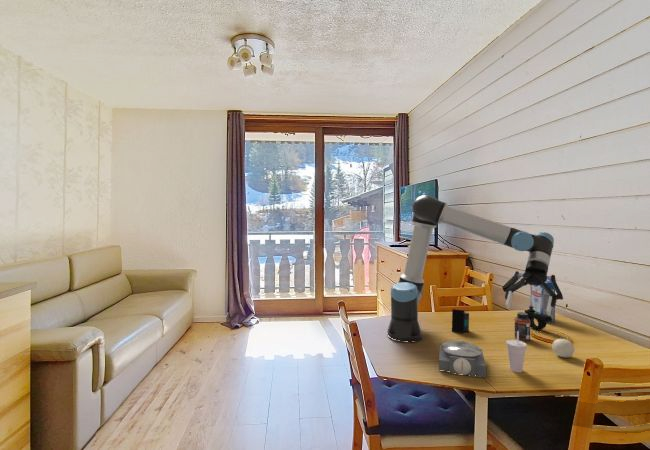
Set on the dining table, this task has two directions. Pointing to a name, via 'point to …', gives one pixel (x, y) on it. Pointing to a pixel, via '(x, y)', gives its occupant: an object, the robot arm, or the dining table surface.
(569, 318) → the dining table surface
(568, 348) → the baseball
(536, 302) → the milk carton
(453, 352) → the scale pan
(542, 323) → the controller
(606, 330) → the dining table surface
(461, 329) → the speaker
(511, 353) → the smoothie
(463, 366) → the scale base
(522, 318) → the supplement bottle
